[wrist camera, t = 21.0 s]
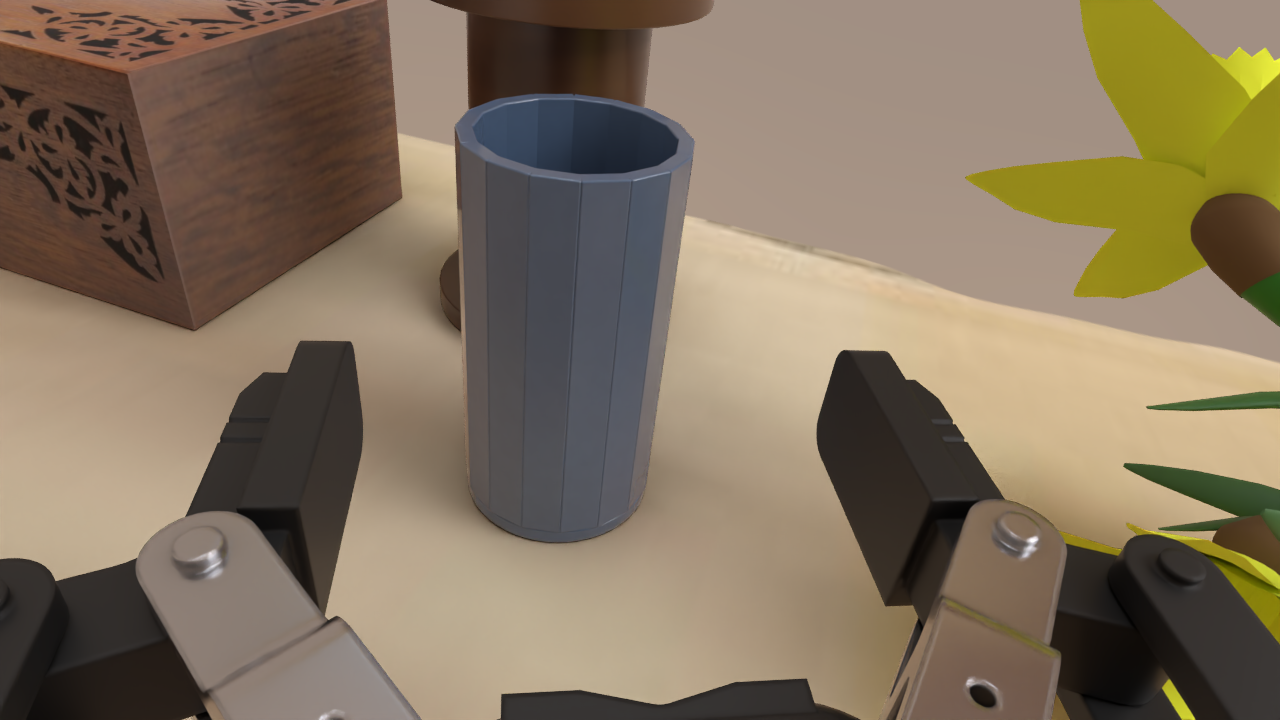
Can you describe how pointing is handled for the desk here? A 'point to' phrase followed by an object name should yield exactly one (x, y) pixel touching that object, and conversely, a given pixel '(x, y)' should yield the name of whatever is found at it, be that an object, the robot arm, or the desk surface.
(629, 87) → the stand
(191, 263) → the tissue box cover
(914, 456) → the robot arm
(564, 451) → the cup
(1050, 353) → the desk surface
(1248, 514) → the daffodil flowers
